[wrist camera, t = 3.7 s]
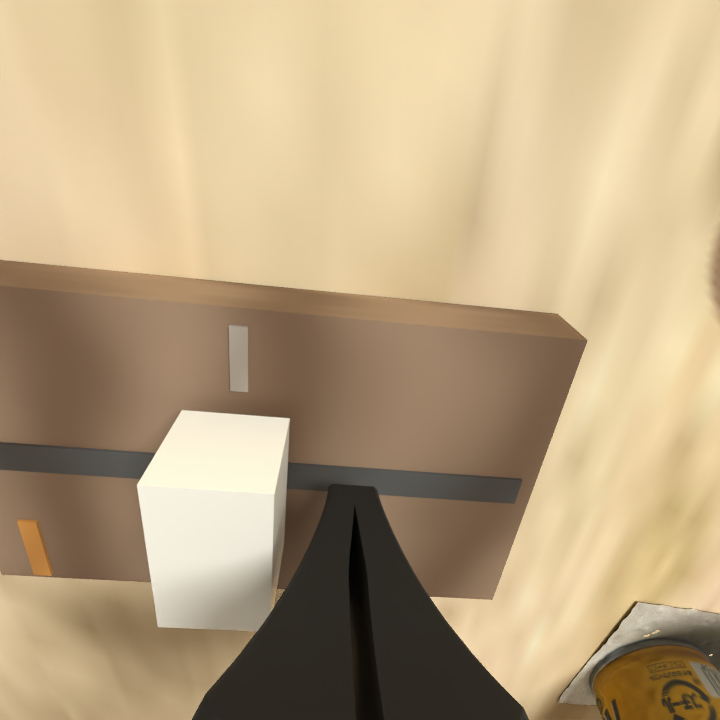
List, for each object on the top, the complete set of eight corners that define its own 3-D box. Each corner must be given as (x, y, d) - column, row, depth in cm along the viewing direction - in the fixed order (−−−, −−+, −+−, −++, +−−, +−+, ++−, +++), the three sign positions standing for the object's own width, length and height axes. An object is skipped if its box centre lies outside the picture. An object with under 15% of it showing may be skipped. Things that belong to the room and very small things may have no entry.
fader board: (36, 530, 18) (-1, 577, 16) (-45, 256, 13) (-112, 276, 11) (479, 556, 19) (492, 602, 17) (557, 314, 14) (589, 341, 12)
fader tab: (192, 537, 15) (157, 627, 12) (181, 410, 13) (137, 485, 10) (284, 543, 15) (270, 632, 12) (289, 418, 13) (274, 494, 10)
